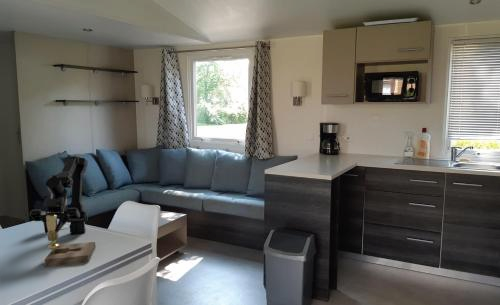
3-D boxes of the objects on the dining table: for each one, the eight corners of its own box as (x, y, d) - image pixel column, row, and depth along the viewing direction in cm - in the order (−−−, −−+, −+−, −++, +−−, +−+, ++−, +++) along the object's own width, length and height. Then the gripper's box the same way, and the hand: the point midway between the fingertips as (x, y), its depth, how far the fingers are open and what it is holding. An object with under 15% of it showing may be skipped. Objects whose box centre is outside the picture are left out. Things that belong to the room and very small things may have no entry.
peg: (59, 244, 159) (57, 213, 157) (59, 247, 155) (57, 215, 153) (48, 246, 157) (45, 214, 155) (48, 249, 153) (45, 217, 151)
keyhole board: (45, 266, 148) (44, 259, 148) (56, 251, 164) (55, 245, 163) (88, 262, 152) (88, 255, 152) (95, 248, 167) (95, 241, 167)
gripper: (29, 191, 155) (19, 224, 146) (76, 189, 158) (69, 221, 149) (38, 204, 164) (30, 237, 155) (82, 202, 167) (76, 234, 158)
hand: (51, 232), depth 154 cm, fingers closed on peg, 4 cm apart
